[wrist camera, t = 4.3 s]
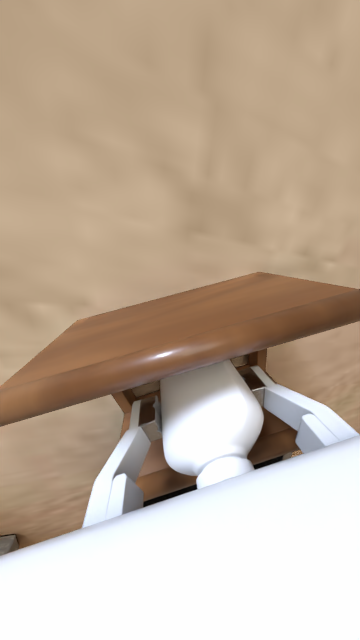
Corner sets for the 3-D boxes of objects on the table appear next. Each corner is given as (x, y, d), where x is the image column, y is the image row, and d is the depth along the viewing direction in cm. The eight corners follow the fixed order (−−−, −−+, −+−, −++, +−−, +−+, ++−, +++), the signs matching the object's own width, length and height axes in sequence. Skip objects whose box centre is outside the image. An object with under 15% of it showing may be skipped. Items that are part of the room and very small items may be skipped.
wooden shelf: (74, 318, 11) (-55, 421, 4) (260, 268, 11) (404, 289, 5) (129, 405, 16) (111, 515, 9) (257, 367, 16) (325, 443, 10)
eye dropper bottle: (216, 354, 15) (385, 633, 4) (165, 373, 15) (193, 706, 4) (207, 319, 13) (497, 681, 2) (148, 340, 13) (110, 835, 2)
